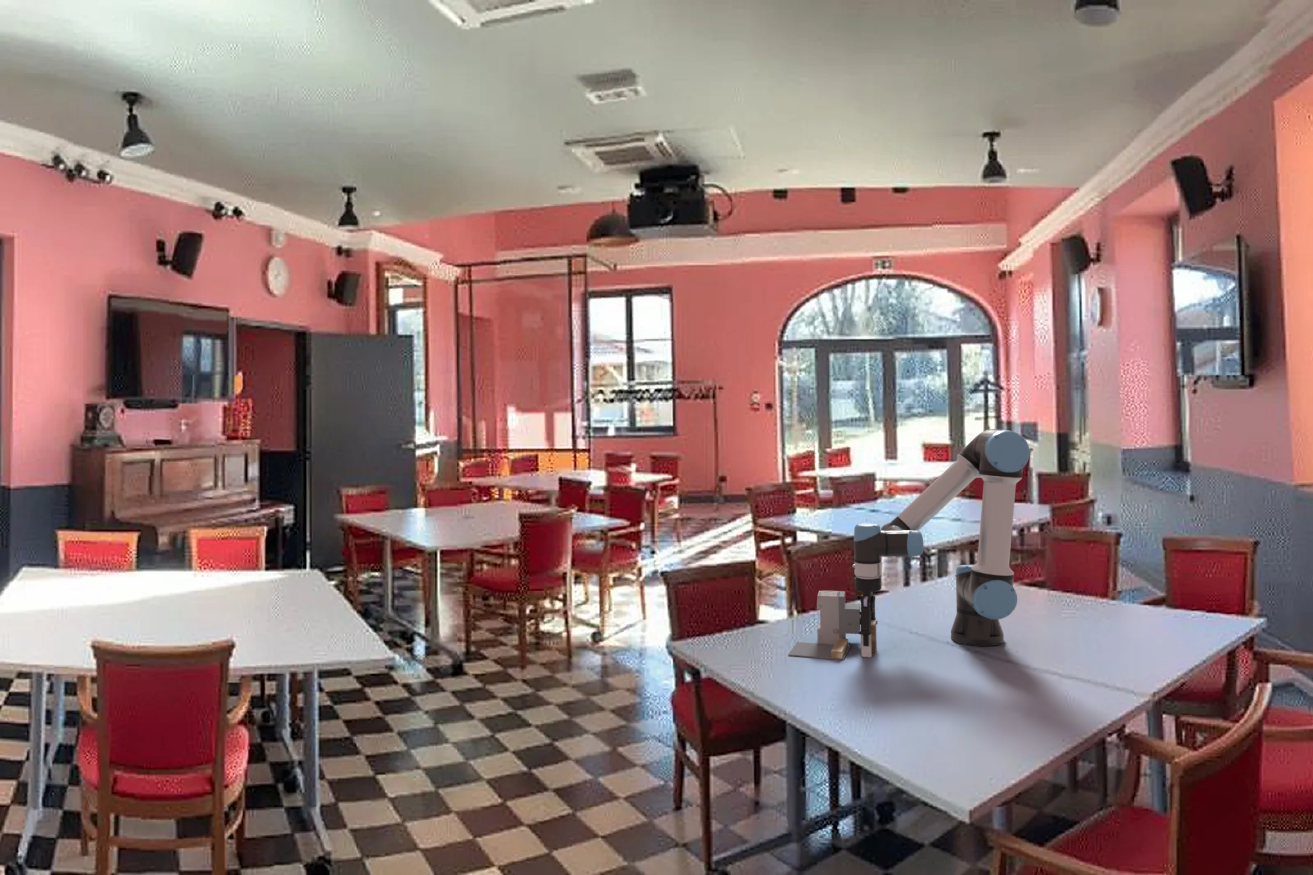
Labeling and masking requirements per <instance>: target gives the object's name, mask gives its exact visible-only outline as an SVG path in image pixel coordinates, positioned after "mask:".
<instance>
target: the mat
mask: <svg viewBox="0 0 1313 875" xmlns="http://www.w3.org/2000/svg"><path fill="white" fill-rule="evenodd" d="M833 647H834V644H820V643H818V642H817V643H816V642H802V641H796V643H795V644H794V645H793V647H792V648H791V649H790V651H788V654H787V656H788V657H798V658H810V659H811V658H812V659H826V660H837V661H844V660H845V658H846V657H847V654H848V652H849V650H850V648H851V645H848V647H847V649H846V651H845V653H844V655H843V657H842V659H840V658H831V650H832V648H833Z"/></svg>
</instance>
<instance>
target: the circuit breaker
mask: <svg viewBox="0 0 1313 875" xmlns="http://www.w3.org/2000/svg"><path fill="white" fill-rule="evenodd" d="M816 610H817V611H819V616H820V617H819V619H820V620H819V623H818V627H817V629H816V630H817V643H820V644H834V645H835V643H836V641H837V639H838V638H841V639H847V634H852V635H853V634H854V635H860V634H859V632H860V631H861V603H850V602H849V603H848V602H847V603H846V590H845V591H843V590H842V591H841V590H819V591H818V593H817V599H816Z"/></svg>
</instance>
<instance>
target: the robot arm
mask: <svg viewBox="0 0 1313 875" xmlns="http://www.w3.org/2000/svg"><path fill="white" fill-rule="evenodd" d="M1030 453H1031V452H1030V447H1029V444H1028V442H1027V440H1026V439H1025V438H1024V437H1023V435H1021V434H1019V433H1018V432H1015V431H1012V430H1009V429H996V428H995V429H994V428H993V429H992V428H990V429H987V430H984V431H982V432H980V433H979V434H977V435H976V436H975V437H974V438H973V439H972V440H970V442H969V443H968V444H967V445H965V447H964V448H963V449H962V450H961V451H960V452H958V453H957V455H956V461H954V462H953V463H952V464H951V465H950V466H949V467H948V468H947V469H946V470H944V471H943V473H942V474H940V475H939V476H938V477H937V478H936V479H935V480H934V481H933V482H932V483H931V484H930V485H929V486H928V487H926V488H925V490H924V491H923V492H921V493H920V494H919V495H918V496H917V497H916V498H915V499H914V500H913V501H912V502H911V503H910V504H909V505H908V506H906V508H904V509H903V510H902V511H901V512H900V513H899V514H897V516H896V517H895V518H894V519H892V520H891V521H890V522H887V523H885V524H884V525H882V526H880V524H878V523H872V522H871V523H869V522H864V523H863V522H862V523H857V524H856V525H855V526H854V529H853V530H854V533H853V553H854V556H853V558H854V560H853V561H854V564H852V566H851V567H852V568H853V569H854V575H855V577H854V589H855V590H856V591H858V592H862V594H861V595H860V600H859V602H860V612H861V625H860V632H859V634H858V635H860V650H862V654H861V657H862V658H863V657H864V658H872V654H871V632H870V630H871V620H873V621H876V625H878V620H877V617H876V595H875V593H876V592H879V591H881V590H882V581H881V580H882V579H881V577H880V576H882V562H881V558H882V557H908V558H912V557H920V556H921V555H922V554H923V552H924V536H923V533H922V532H921V529H922V528H923V527H925V525H927V524H928V522H930V521H931V520H932V519H933V518H934V517H935V516H936V515H937V514H938V513H939V512H940V511H942V509H944V508H945V506H947V505H948V504H949V503H950V502H952V501H953V499H955V498H956V497H957V496H958V495H959V494H960V493H961V492H962V491H963V490H964V489H965V488H966V487H968V485H970V483H972V481H974V480H975V479H976V478H977V479H978V478H981V479H982V481H983V486H982V487H983V489H982V499H981V500H982V501H981V513H980V524H979V537H978V538H979V539H978V548H977V549H978V550H977V562H976V563H974V564H960V565H958V566H957V567H956V569H955V570H956V572H955V575H954V576H955V588H956V589H955V590H956V592H955V594H956V597H955V598H956V615H955V616H954V620H953V624H952V626H951V629H950V639H951V640H952V641H954V642H956V643H959V644H963V645H968V646H978V647H990V646H998V645H1001V644H1003V643H1004V641H1005V640H1004V639H1005V637H1004V635H1005V634H1004V632H1003V629H1002V625H1001V623H1000V620H1002V619H1005V618H1007V617H1009V615H1011V614H1012V613H1014V611H1015V610H1016V607H1017V604H1018V595H1017V594H1018V593H1017V591H1016V590H1015V587H1014V582H1015V581H1014V580H1015V579H1014V578H1015V577H1014V576H1015V572H1014V571H1013V570H1012V568H1011V567H1010V558H1011V557H1010V556H1011V545H1012V536H1013V525H1014V523H1013V522H1014V512H1015V511H1014V510H1015V509H1014V508H1015V500H1016V498H1015V497H1016V489H1017V488H1016V486H1017V483H1018V482H1020V481H1021V480H1022V479H1023V475H1024V474H1023V472H1024V467H1025V466H1026V465H1027V463H1028V461H1029V459H1030V455H1031V454H1030ZM864 629H867V630H864Z"/></svg>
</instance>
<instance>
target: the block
mask: <svg viewBox="0 0 1313 875" xmlns="http://www.w3.org/2000/svg"><path fill="white" fill-rule="evenodd" d="M876 621H877V620H875V621H873V620H871V630H870V632H871V655H876V654H877V650H878V649H877V646H878V645H877V643H878V642H877V624H876ZM864 630H867V629H864ZM860 650H861V649H860ZM860 654H861V655H862V650H861V651H860Z"/></svg>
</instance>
